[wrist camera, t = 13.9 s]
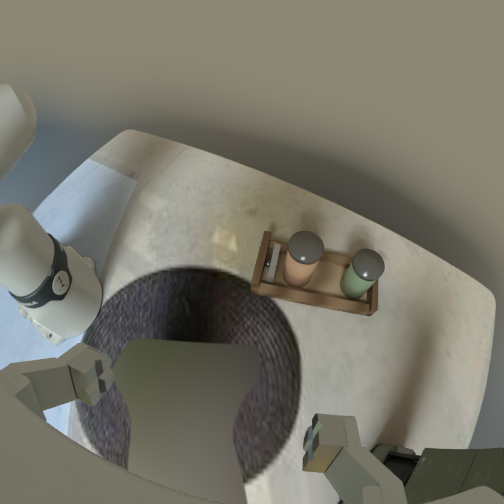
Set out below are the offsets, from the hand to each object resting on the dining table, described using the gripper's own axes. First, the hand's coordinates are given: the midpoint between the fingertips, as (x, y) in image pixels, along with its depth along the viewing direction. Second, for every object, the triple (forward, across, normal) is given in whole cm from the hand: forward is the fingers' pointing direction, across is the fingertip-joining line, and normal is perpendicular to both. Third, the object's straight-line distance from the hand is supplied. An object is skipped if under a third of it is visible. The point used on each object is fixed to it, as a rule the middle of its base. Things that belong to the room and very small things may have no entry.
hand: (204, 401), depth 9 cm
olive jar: (+38, -15, +6) cm, 42 cm away
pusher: (+38, 0, +5) cm, 39 cm away
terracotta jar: (+38, -5, +6) cm, 39 cm away
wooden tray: (+39, -8, +6) cm, 40 cm away
